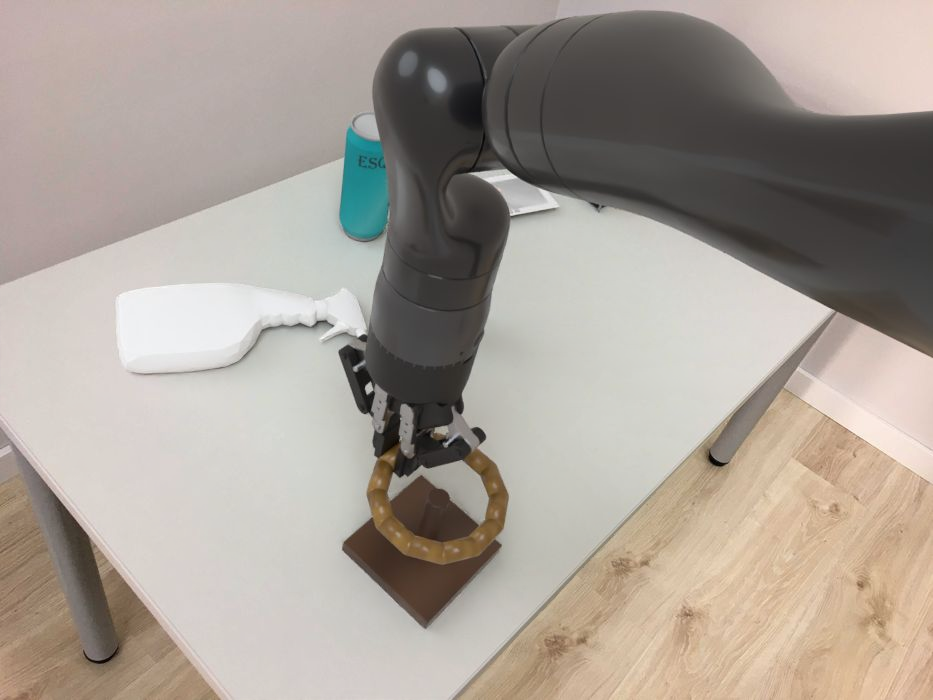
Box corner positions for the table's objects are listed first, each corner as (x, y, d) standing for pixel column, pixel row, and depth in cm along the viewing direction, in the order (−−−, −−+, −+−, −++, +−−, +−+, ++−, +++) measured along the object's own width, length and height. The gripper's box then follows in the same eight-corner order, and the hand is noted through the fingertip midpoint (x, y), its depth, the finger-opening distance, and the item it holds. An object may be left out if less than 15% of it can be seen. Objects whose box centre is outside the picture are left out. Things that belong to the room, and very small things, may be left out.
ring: (531, 502, 65) (536, 493, 64) (442, 595, 59) (446, 587, 58) (432, 418, 69) (435, 407, 67) (337, 497, 62) (339, 487, 61)
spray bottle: (117, 302, 82) (349, 286, 90) (120, 385, 76) (370, 359, 84) (113, 282, 80) (352, 267, 88) (117, 365, 74) (374, 341, 82)
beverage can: (388, 245, 96) (404, 141, 85) (340, 245, 94) (350, 139, 83) (382, 214, 99) (396, 110, 88) (336, 213, 98) (345, 107, 87)
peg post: (498, 552, 72) (524, 500, 65) (425, 629, 66) (444, 581, 59) (418, 482, 75) (434, 425, 68) (341, 550, 69) (350, 495, 62)
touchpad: (433, 192, 104) (435, 179, 102) (529, 177, 110) (533, 164, 109) (459, 231, 100) (462, 218, 98) (557, 212, 106) (562, 200, 105)
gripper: (313, 286, 52) (303, 434, 65) (469, 413, 48) (425, 545, 61) (392, 239, 57) (368, 387, 69) (541, 352, 52) (486, 487, 65)
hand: (395, 460), depth 65 cm, fingers closed on ring, 1 cm apart
